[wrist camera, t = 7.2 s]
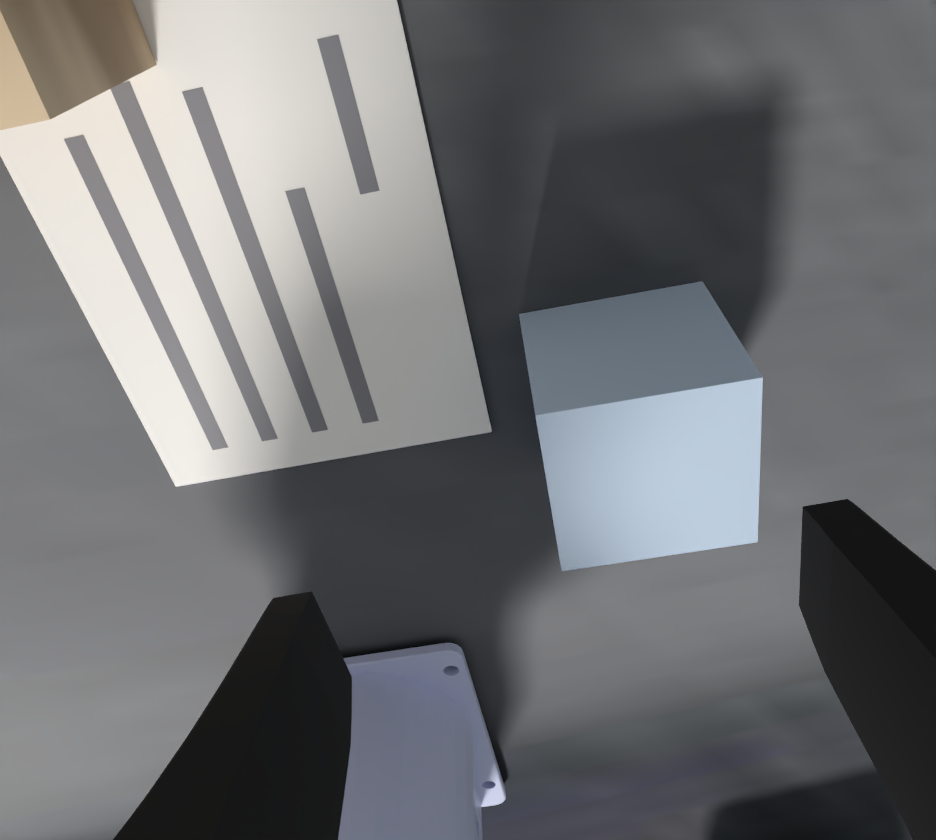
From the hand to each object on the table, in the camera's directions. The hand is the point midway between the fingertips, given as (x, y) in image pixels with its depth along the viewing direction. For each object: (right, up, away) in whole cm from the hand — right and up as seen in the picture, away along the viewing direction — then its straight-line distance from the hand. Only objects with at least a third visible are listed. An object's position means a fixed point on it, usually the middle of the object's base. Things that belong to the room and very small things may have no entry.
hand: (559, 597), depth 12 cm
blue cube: (+3, +4, +9) cm, 10 cm away
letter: (-6, +6, +7) cm, 11 cm away
